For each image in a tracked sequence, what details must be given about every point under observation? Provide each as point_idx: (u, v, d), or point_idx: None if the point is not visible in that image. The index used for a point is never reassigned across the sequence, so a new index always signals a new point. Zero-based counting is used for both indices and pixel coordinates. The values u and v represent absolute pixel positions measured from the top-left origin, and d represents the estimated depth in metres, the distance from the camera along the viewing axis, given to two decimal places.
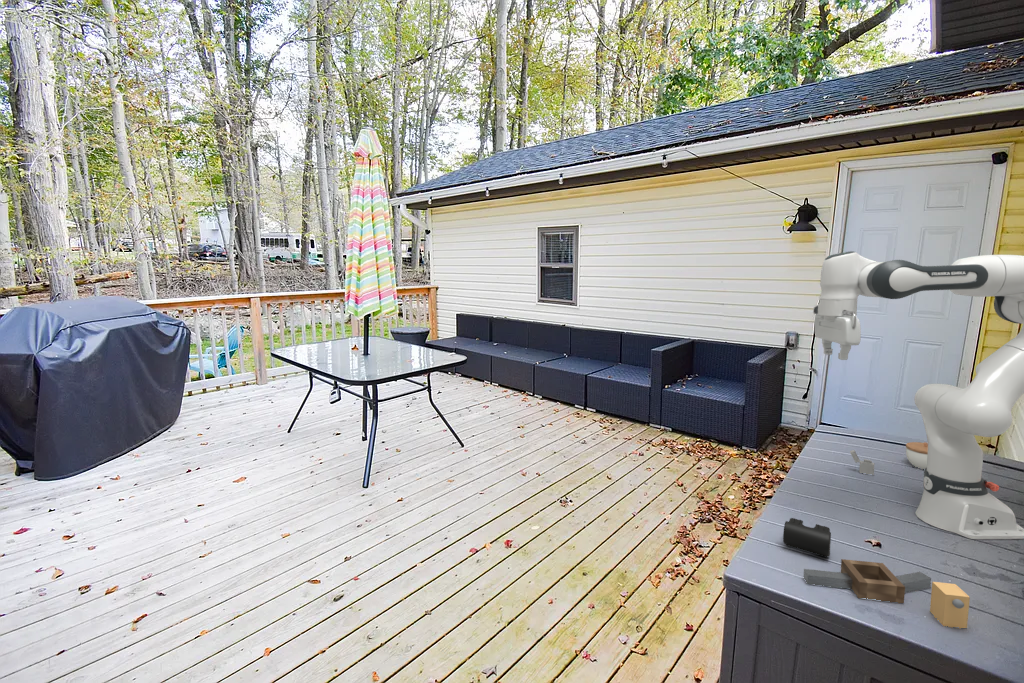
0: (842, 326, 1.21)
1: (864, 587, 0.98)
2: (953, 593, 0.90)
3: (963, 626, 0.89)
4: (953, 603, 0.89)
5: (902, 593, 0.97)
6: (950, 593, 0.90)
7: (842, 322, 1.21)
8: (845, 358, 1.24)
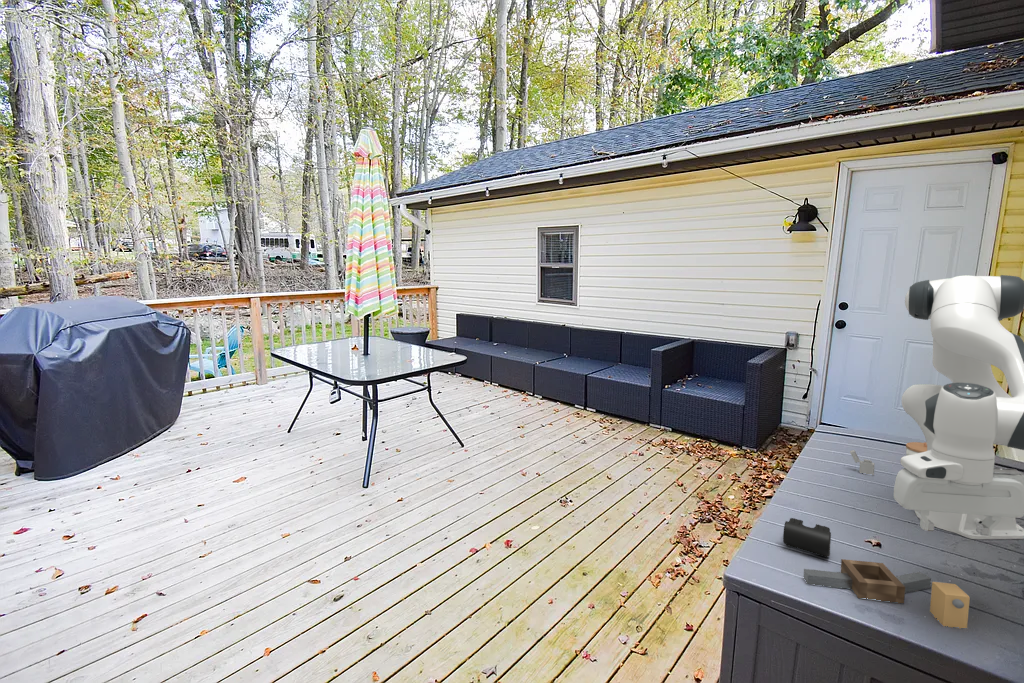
0: (1014, 493, 0.85)
1: (864, 587, 0.98)
2: (953, 593, 0.90)
3: (963, 626, 0.89)
4: (953, 603, 0.89)
5: (902, 593, 0.97)
6: (950, 593, 0.90)
7: (1014, 487, 0.85)
8: None
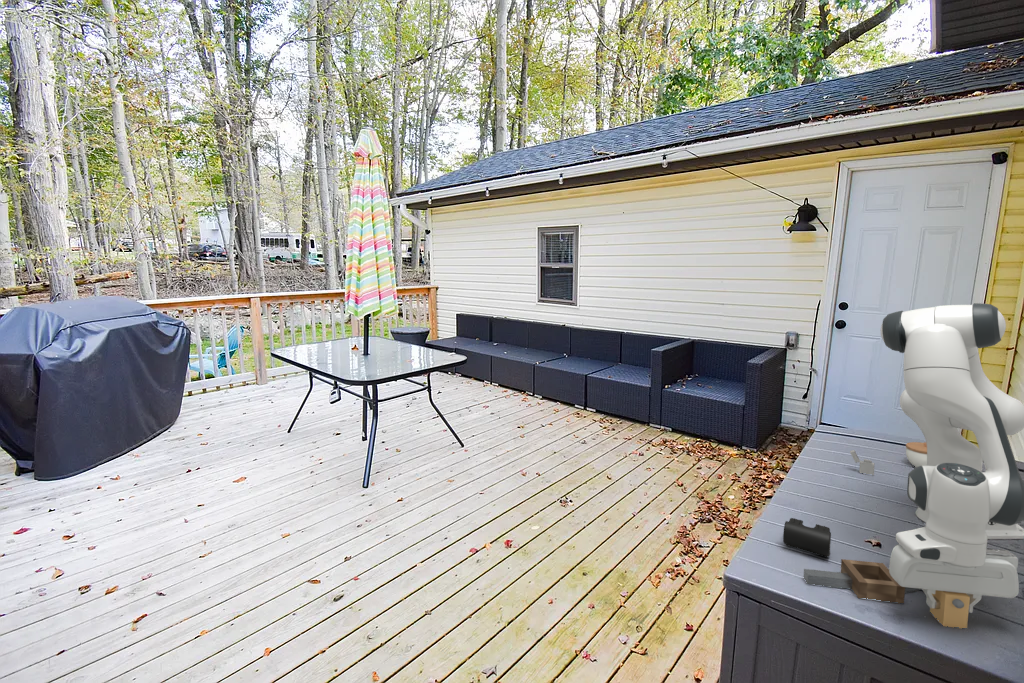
0: (1007, 574, 0.87)
1: (864, 587, 0.98)
2: (953, 593, 0.90)
3: (963, 626, 0.89)
4: (953, 603, 0.89)
5: (902, 593, 0.97)
6: (950, 593, 0.90)
7: (1007, 569, 0.87)
8: None
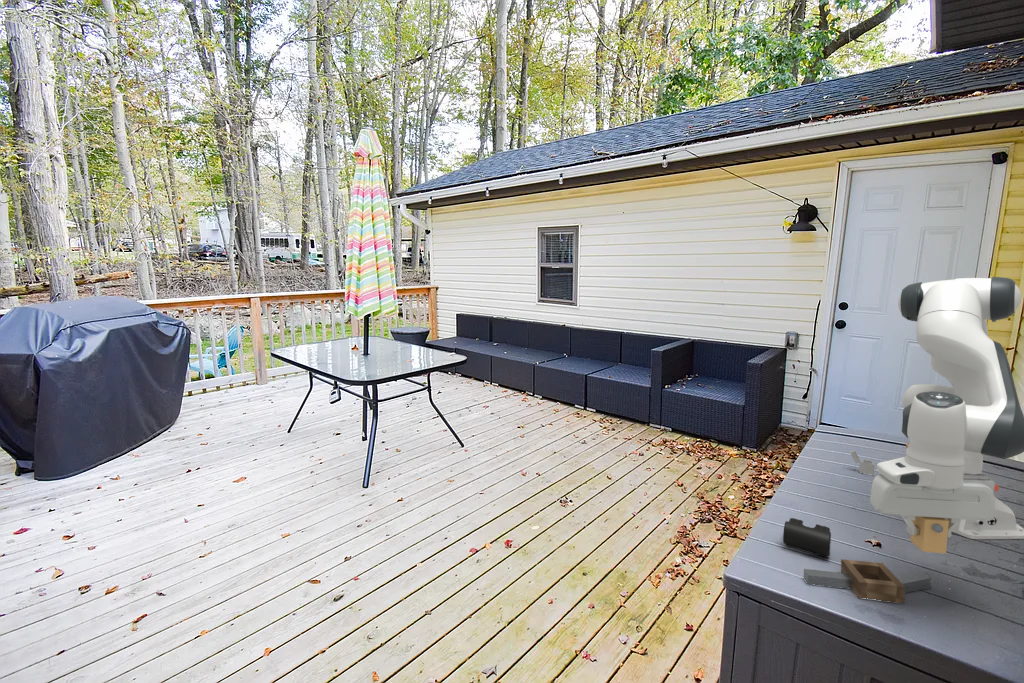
0: (983, 497, 0.88)
1: (864, 587, 0.98)
2: (932, 518, 0.91)
3: (942, 550, 0.91)
4: (932, 528, 0.90)
5: (902, 593, 0.97)
6: (929, 518, 0.91)
7: (983, 492, 0.88)
8: None
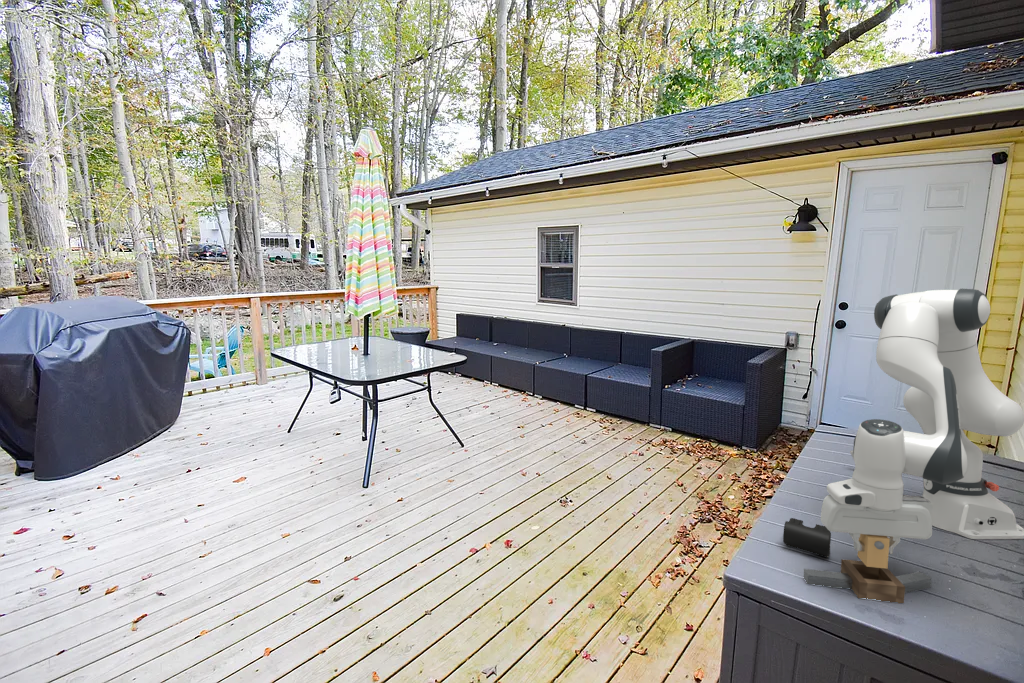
0: (921, 518, 0.96)
1: (864, 587, 0.98)
2: (875, 536, 0.99)
3: (884, 566, 0.99)
4: (875, 545, 0.98)
5: (902, 593, 0.97)
6: (872, 536, 0.99)
7: (921, 513, 0.96)
8: None
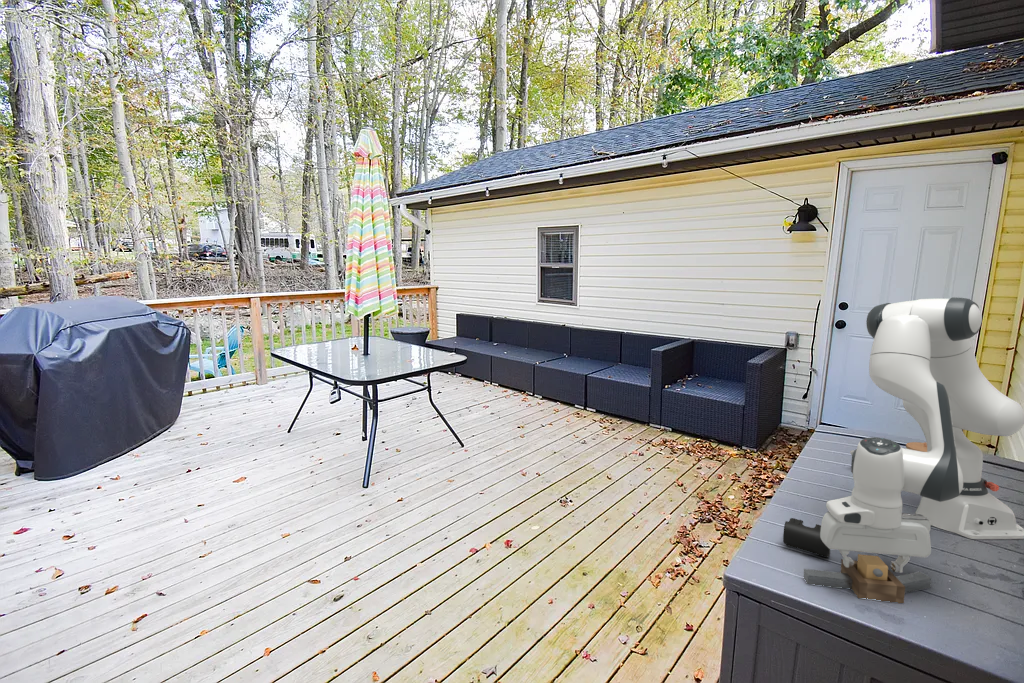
0: (920, 536, 0.97)
1: (864, 587, 0.98)
2: (874, 563, 1.00)
3: None
4: (873, 572, 0.99)
5: (902, 593, 0.97)
6: (871, 563, 1.00)
7: (920, 531, 0.96)
8: None
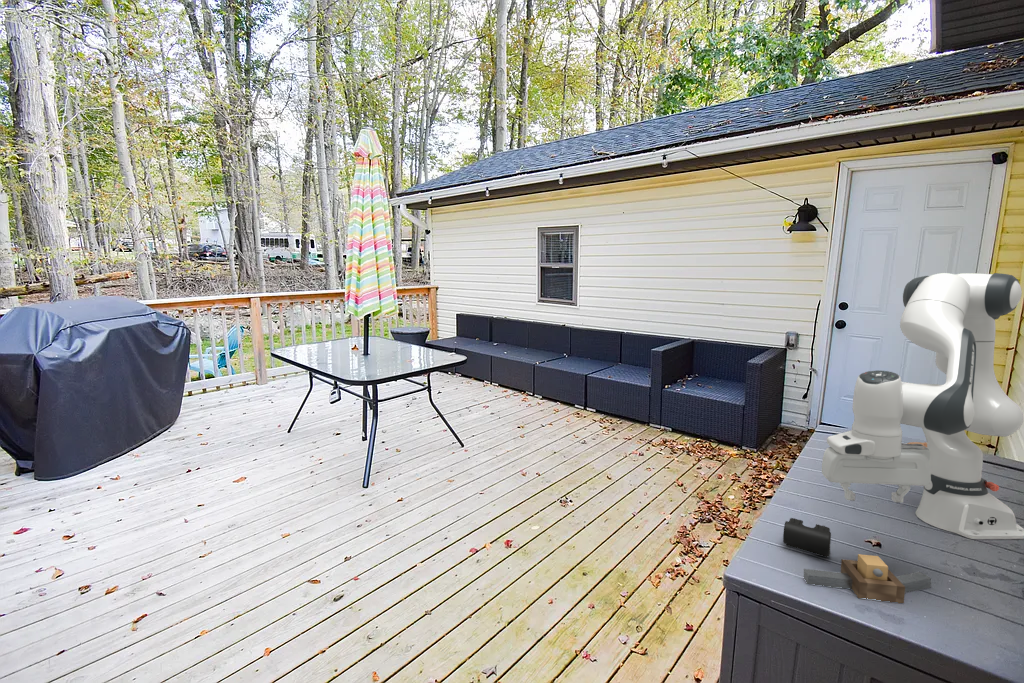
0: (920, 464, 0.98)
1: (864, 587, 0.98)
2: (874, 563, 1.00)
3: None
4: (873, 572, 0.99)
5: (902, 593, 0.97)
6: (871, 563, 1.00)
7: (920, 460, 0.98)
8: None
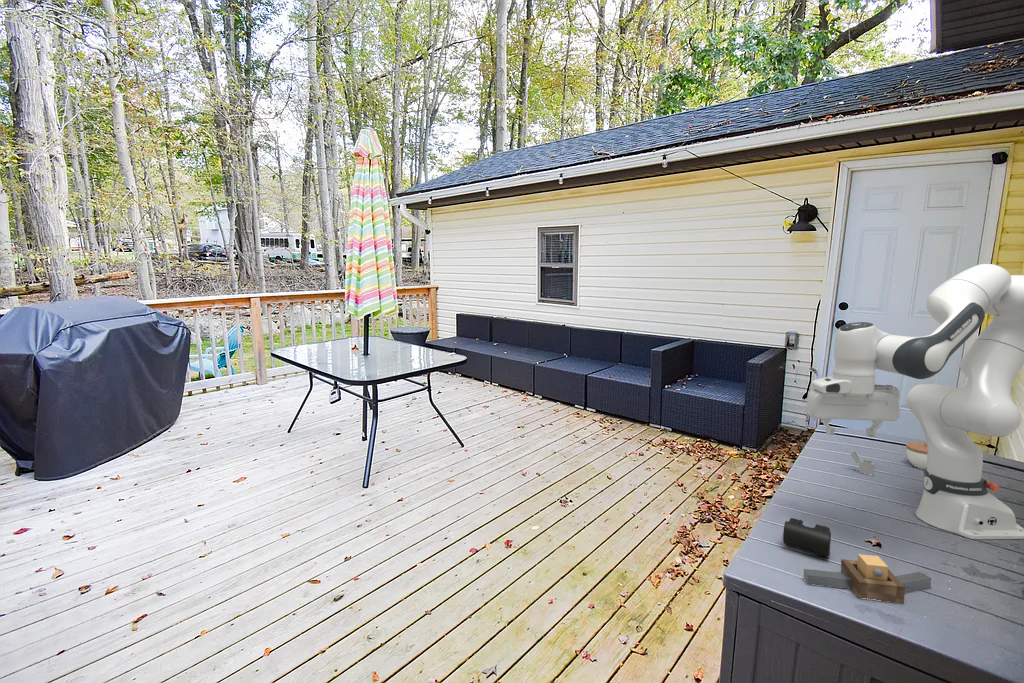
0: (890, 402, 1.14)
1: (864, 587, 0.98)
2: (874, 563, 1.00)
3: None
4: (873, 572, 0.99)
5: (902, 593, 0.97)
6: (871, 563, 1.00)
7: (890, 398, 1.14)
8: None
